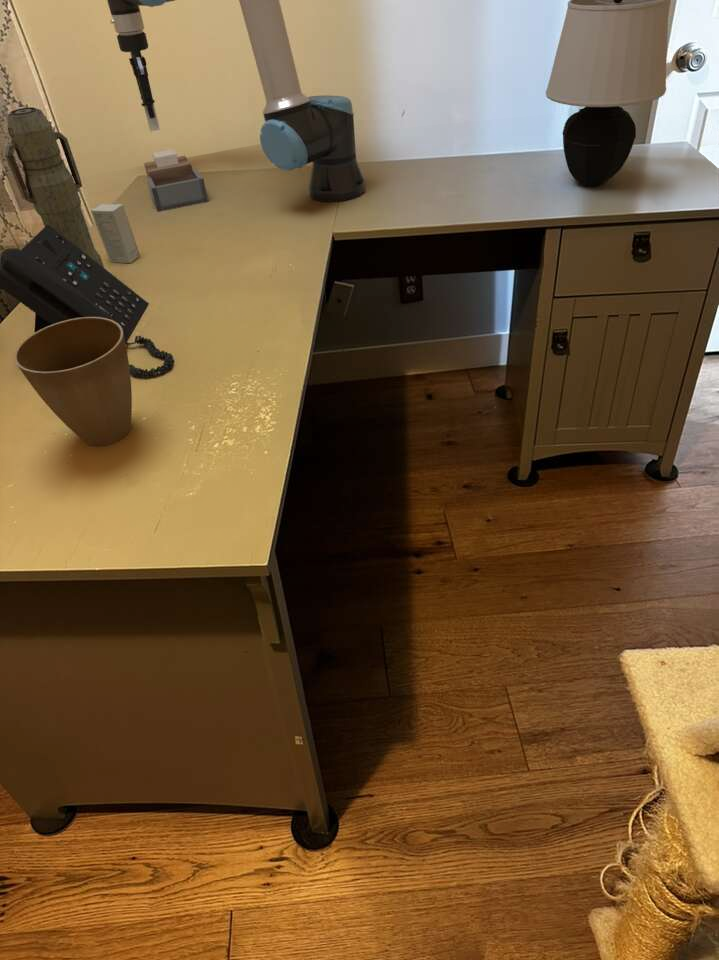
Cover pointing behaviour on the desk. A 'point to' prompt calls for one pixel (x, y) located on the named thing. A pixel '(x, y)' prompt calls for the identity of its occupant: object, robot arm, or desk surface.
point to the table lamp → (607, 79)
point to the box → (178, 192)
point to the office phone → (72, 289)
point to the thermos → (48, 176)
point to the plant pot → (82, 376)
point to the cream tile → (165, 158)
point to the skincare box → (115, 233)
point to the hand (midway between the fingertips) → (154, 129)
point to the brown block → (169, 172)
